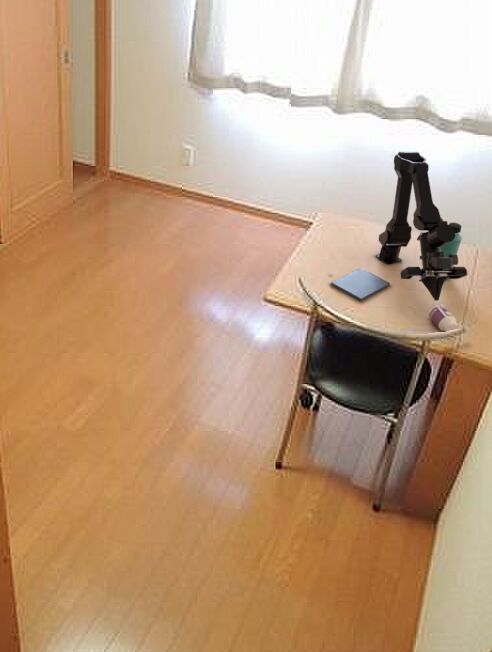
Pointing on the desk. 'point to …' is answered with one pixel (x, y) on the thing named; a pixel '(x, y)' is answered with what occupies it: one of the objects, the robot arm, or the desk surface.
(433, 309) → the pill bottle
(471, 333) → the desk surface
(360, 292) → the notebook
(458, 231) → the beverage bottle
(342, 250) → the desk surface
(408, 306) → the desk surface
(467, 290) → the desk surface
